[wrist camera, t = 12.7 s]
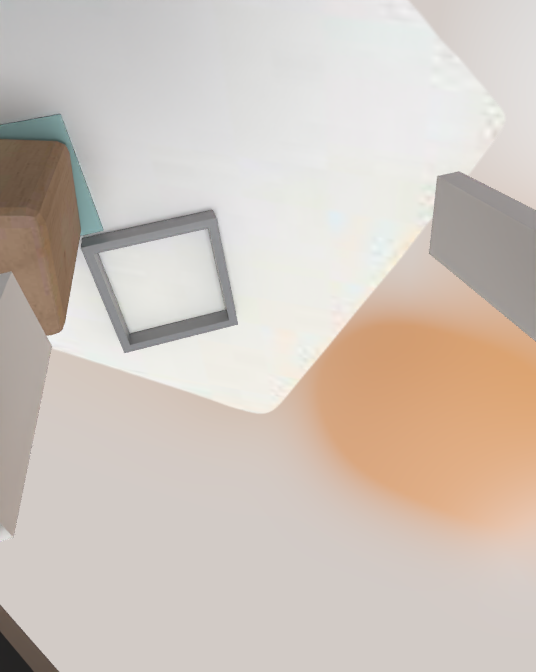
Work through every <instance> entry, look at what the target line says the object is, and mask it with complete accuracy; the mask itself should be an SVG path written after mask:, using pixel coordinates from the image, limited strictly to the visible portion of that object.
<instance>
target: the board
mask: <svg viewBox="0 0 536 672" xmlns="http://www.w3.org/2000/svg"><path fill="white" fill-rule="evenodd" d="M0 139H15V140H42V141H58V142H60V143H63V144H65V145H66V147H67V149H68V150H69V152H70V159H71V166H72V172H73V179H74V186H75V192H76V199H77V206H78V213H79V219H80V226H81V233H80V236H82V235H86V234H91V233H96V232H100V231H103V227H102V225H101V222H100V219H99V217H98V214H97V211H96V208H95V206H94V203H93V200H92V198H91V195H90V192H89V190H88V187H87V184H86V182H85V179H84V176H83V173H82V171H81V168H80V165H79V163H78V160H77V157H76V155H75V152H74V149H73V147H72V144H71V141H70V138H69V136H68V133H67V130H66V128H65V125H64V122H63V120H62V117H61V114H58V115H52V116H47V117H41V118H36V119H31V120H25V121H20V122H14V123H9V124H3V125H0Z"/></svg>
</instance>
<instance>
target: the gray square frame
mask: <svg viewBox="0 0 536 672" xmlns="http://www.w3.org/2000/svg"><path fill="white" fill-rule="evenodd" d="M203 229H208V230H209V235H210V239H211V244H212V249H213V253H214V258H215V262H216V267H217V271H218V276H219V281H220V285H221V290H222V294H223V299H224V303H225V308H226V310H224V311H220V312H216V313H212V314H208V315H204V316H200V317H196V318H192V319H188V320H184V321H180V322H176V323H172V324H168V325H164V326H160V327H156V328H152V329H148V330H144V331H139V332H135V333H131V334H130V333H129V331H128V328H127V326H126V323H125V321H124V318H123V316H122V313H121V311H120V308H119V305H118V303H117V300H116V298H115V295H114V293H113V290H112V288H111V285H110V283H109V280H108V277H107V275H106V272H105V270H104V267H103V265H102V262H101V260H100V257H99V255H98V253H100V252H105V251H109V250H114V249H118V248H123V247H127V246H132V245H136V244H141V243H145V242H149V241H154V240H158V239H163V238H167V237H172V236H176V235H181V234H185V233H190V232H194V231H199V230H203ZM81 249H82V252H83V254H84V257H85V259H86V261H87V264H88V266H89V269H90V271H91V273H92V276H93V278H94V281H95V283H96V286H97V288H98V290H99V293H100V295H101V298H102V300H103V302H104V305H105V307H106V310H107V312H108V314H109V317H110V319H111V322H112V324H113V326H114V329H115V331H116V334H117V336H118V338H119V341H120V343H121V346H122V348H123V351H124V353H127V352H131V351H135V350H139V349H143V348H147V347H151V346H155V345H159V344H163V343H166V342H170V341H174V340H178V339H182V338H186V337H190V336H194V335H198V334H202V333H206V332H210V331H214V330H218V329H222V328H226V327H230V326H234V325H238V322H237V317H236V312H235V307H234V302H233V297H232V292H231V287H230V283H229V278H228V273H227V268H226V263H225V258H224V253H223V248H222V243H221V238H220V233H219V228H218V223H217V219H216V216H215V214H214V211H213V210H210V211H205V212H201V213H196V214H192V215H187V216H183V217H178V218H173V219H169V220H164V221H160V222H155V223H151V224H146V225H141V226H137V227H132V228H128V229H123V230H119V231H114V232H109V233H105V234H100V235H96V236H91V237H87V238H82V244H81Z"/></svg>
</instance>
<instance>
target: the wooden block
mask: <svg viewBox="0 0 536 672" xmlns="http://www.w3.org/2000/svg"><path fill="white" fill-rule="evenodd" d="M80 233H81V226H80V219H79V213H78V206H77V199H76V192H75V186H74V179H73V172H72V166H71V159H70V152H69V150H68V149H67V147H66V145H65V144H63V143H60V142H58V141H42V140H15V139H0V274H2V273H7V272H11V271H12V273H13V275H14V277H15V279H16V281H17V282H18V284H19V286H20V288H21V290H22V292H23V294H24V295H25V297H26V299H27V301H28V303H29V305H30V307H31V308H32V310H33V312H34V314H35V316H36V318H37V320H38V321H39V323H40V325H41V327H42V329H43V331H44V333H45V334H46V335H53V334H56V333H59V332H60V331H61V330H62V329H63V326H64V323H65V319H66V313H67V307H68V302H69V296H70V290H71V284H72V279H73V273H74V267H75V262H76V256H77V250H78V244H79V239H80Z"/></svg>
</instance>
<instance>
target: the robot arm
mask: <svg viewBox="0 0 536 672" xmlns="http://www.w3.org/2000/svg"><path fill="white" fill-rule="evenodd" d="M429 254H430V255H431V256H433V257H434V258H435V259H436V260H438V261H439V262H440V263H441V264H442V265H444V266H445V267H446V268H447V269H448V270H450V271H451V272H452V273H453V274H454V275H456V276H457V277H458V278H459V279H461V280H462V281H463V282H464V283H466V284H467V285H468V286H469V287H470V288H471V289H473V290H474V291H475V292H476V293H478V294H479V295H480V296H481V297H482V298H484V299H485V300H486V301H487V302H489V303H490V304H491V305H492V306H493V307H495V308H496V309H497V310H498V311H499V312H501V313H502V314H503V315H504V316H505V317H507V318H508V319H509V320H510V321H512V322H513V323H514V324H515V325H516V326H518V327H519V328H520V329H521V330H522V331H524V332H525V333H526V334H528V335H529V336H530V337H531V338H532V339H533V340H535V341H536V210H534V209H532V208H530V207H528V206H526V205H524V204H522V203H521V202H519V201H516V200H515V199H512V198H511V197H509V196H507V195H505V194H503V193H501V192H499V191H497V190H495V189H493V188H491V187H489V186H487V185H485V184H483V183H481V182H479V181H477V180H475V179H473V178H471V177H469V176H467V175H465V174H463V173H461V172H454V173H450V174H445V175H441V176H437V184H436V193H435V202H434V212H433V221H432V230H431V240H430V249H429ZM51 349H52V346H51V344H50V342H49V340H48V338H47V336H46V334H45V333H44V331H43V329H42V327H41V325H40V323H39V321H38V320H37V318H36V316H35V314H34V312H33V310H32V308H31V307H30V305H29V303H28V301H27V299H26V297H25V295H24V294H23V292H22V290H21V288H20V286H19V284H18V282H17V281H16V279H15V277H14V275H13V273H12V271H11V272H7V273H2V274H0V542H1V541H4V540H7V539H11V538H14V533H15V528H16V523H17V518H18V513H19V508H20V503H21V498H22V493H23V488H24V483H25V478H26V473H27V468H28V463H29V458H30V453H31V448H32V443H33V438H34V433H35V428H36V423H37V418H38V413H39V408H40V403H41V398H42V393H43V388H44V383H45V378H46V373H47V369H48V364H49V358H50V354H51ZM0 672H59V671H58V670H57V669H56V668H55V667H54V665H53V664H52V663H51V662H50V661H49V660H48V659H47V658H46V656H45V655H44V654H43V653H42V652H41V651H40V650H39V648H38V647H37V646H36V645H35V644H34V643H33V642H32V641H31V640H30V638H29V637H28V636H27V635H26V634H25V632H23V630H22V629H21V628H20V627H19V626H18V625H17V624H16V622H15V621H14V620H13V619H12V618H11V617H10V616H9V614H8V613H7V612H6V611H5V610H4V609H3V607H2V606H1V605H0Z"/></svg>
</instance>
